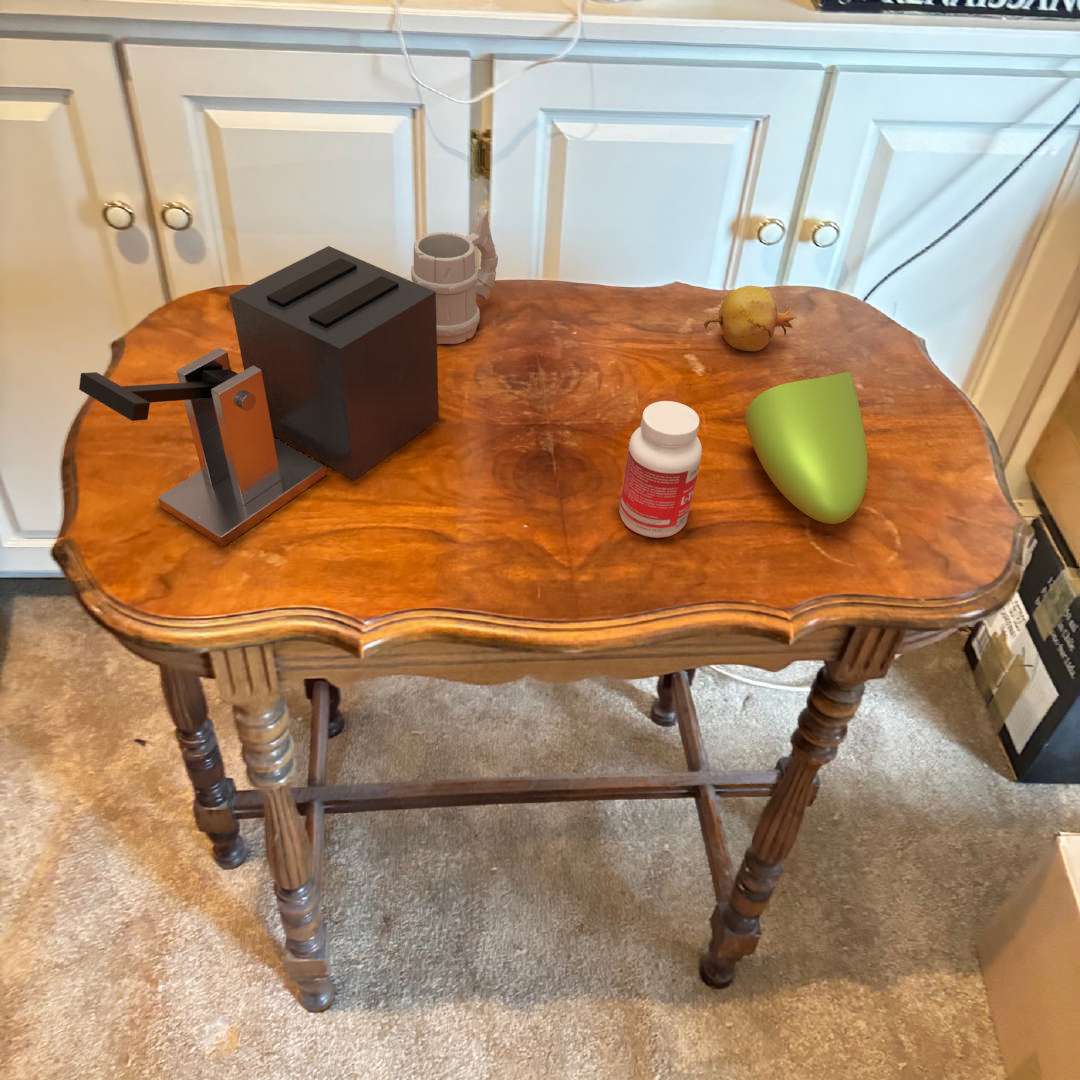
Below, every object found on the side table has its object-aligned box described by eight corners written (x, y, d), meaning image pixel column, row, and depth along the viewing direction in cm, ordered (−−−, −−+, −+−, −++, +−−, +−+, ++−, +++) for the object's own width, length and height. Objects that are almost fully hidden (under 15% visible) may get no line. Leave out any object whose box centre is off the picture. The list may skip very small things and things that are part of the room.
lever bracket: (223, 547, 78) (192, 424, 69) (160, 507, 81) (122, 384, 72) (326, 475, 85) (310, 355, 77) (264, 441, 89) (242, 322, 80)
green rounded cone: (751, 330, 90) (794, 476, 77) (865, 354, 92) (926, 499, 79) (719, 392, 96) (755, 538, 82) (828, 413, 98) (879, 558, 85)
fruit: (713, 315, 99) (807, 318, 99) (707, 269, 102) (798, 272, 103) (701, 360, 105) (790, 362, 105) (696, 315, 108) (782, 317, 108)
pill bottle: (684, 545, 82) (707, 445, 74) (615, 534, 82) (630, 434, 74) (688, 499, 86) (709, 400, 78) (621, 489, 86) (637, 390, 79)
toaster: (354, 480, 85) (339, 344, 75) (254, 425, 90) (228, 290, 80) (438, 419, 92) (435, 287, 82) (342, 371, 97) (328, 241, 87)
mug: (396, 327, 104) (390, 225, 96) (469, 290, 111) (470, 191, 102) (445, 355, 101) (444, 251, 92) (517, 314, 107) (522, 214, 99)
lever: (131, 428, 66) (135, 396, 65) (77, 396, 68) (81, 365, 67) (259, 415, 76) (264, 387, 75) (209, 387, 78) (213, 360, 78)
